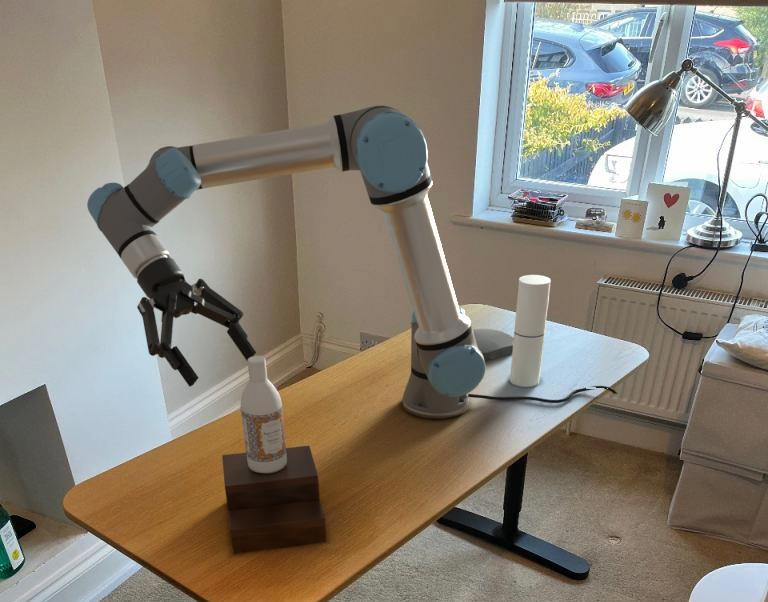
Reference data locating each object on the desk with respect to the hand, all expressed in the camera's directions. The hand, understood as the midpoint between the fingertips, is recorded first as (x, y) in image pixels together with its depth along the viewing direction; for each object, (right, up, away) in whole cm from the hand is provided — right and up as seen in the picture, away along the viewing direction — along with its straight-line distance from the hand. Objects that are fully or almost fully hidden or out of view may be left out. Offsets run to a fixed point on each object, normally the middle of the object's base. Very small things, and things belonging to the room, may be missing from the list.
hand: (224, 369), depth 134 cm
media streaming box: (+55, +19, +71) cm, 92 cm away
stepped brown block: (+8, -27, +5) cm, 28 cm away
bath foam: (+8, -17, +1) cm, 19 cm away
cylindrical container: (+63, +7, +54) cm, 83 cm away
